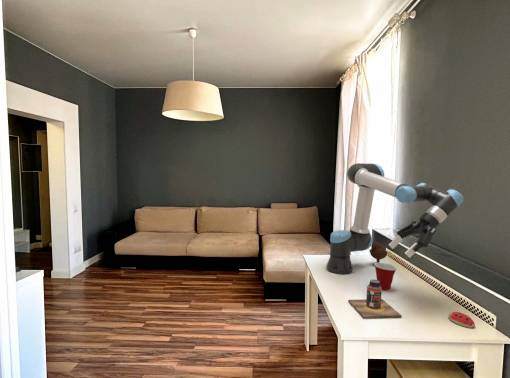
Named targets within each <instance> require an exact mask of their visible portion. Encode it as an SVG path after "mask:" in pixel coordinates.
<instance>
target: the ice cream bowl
mask: <svg viewBox="0 0 510 378" xmlns="http://www.w3.org/2000/svg"><path fill="white" fill-rule="evenodd" d="M368 250H369V254H370V256H371V257H372V258H373V259H375V260H376V263H381V262H380V261H381V260H383V259H385V258H386V257H387V256H388V253H389V252H388V250H386V247H385V246H384V245H382V243H381V242H379V241H378V242H377V241H375V242H372V245H371V248H369V249H368ZM373 266H374V267H375V265H374V263H373Z"/></svg>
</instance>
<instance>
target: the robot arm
mask: <svg viewBox="0 0 510 378" xmlns="http://www.w3.org/2000/svg"><path fill="white" fill-rule="evenodd" d="M346 176H347V179H348V181H349V182H351V183H352V184H355V185H356V186H357V187H358V188H359V189H358V194H357V195H358V196H357V200H356V205H355V212H354V213H355V214H354V218H353V219H354V220H353V225H351V226H350V228H349V230H345V229H343V230H341V229H339V230H334V231H333V232H332V231H331V233H330V238H329V241H330V242H329V245H330V246H329V247H330V249H329V258H328V262H327V263H326V270H327V271H328V272H331V273H333V274H339V275H349V274H352V273H353V264H352V261H351V253H354V252H363V251H366V250H370V249H371V248H372V244H373V237H372V234H371V231H370V229H369V224H370V217H371V214H372V213H371V212H372V206H373V200H374V196H375V191H378V192H380V193H384V194H385V195H386V194H387V195H388V196H392V197H393V198H396V199H397V201H398V202H400V203H405V204H411V203H412V204H414V203H428V204H430V205H431V206H430V207H429V208H428V209H427V210H426V211H425V212H424V213H423V214H422V215H421V216H420V217H419V221H418V223H417V222H416V221H415V220H414V221H412V222H411V223H410V224H408V225H407V226H405V227H403V228H401V229H400V230H398V231H397V232H396V235H397V236H396V237H395V238H394V239H393V240H392V241H391V242H389V244H388V246H389V247H390V248H391V249H392V250H394V249H395V248H396V247H397V246H398V245H399V244H400V243H401V242H402V241H403V240H404V238H406V237H409V236H411V235H414V234H415V235H416V234H419V235H418V239H417V241H416V242H414V243H413V244H412V245H411V246H410V247H409V248H408V249H407V250H406V251H405V252H404V254H405V256H407V257H408V258H409V259H410V258H411V257H412V256H413V255H414V254H416V253H417V252H419V250H421V248H428V246H429V245H430V242H431V240H432V238H433V235H434V234H435V233H436V232H437V230H436V229H437V227H439V226H440V224H441V223H443V222H444V221H445V220H446V219H447V218H448V217H449V216H450V214H452V213H453V212H454V211H455V210H456V209H457V208H459V206H460V205H461V204H462V203H463V202H464V196H463V194H461V193H460V192H459V191H457V190H456V189H452V188H450V189H448V190H447V191H443V190H441V189H438V188H437V187H435V186H432V185H431V184H427V183H425V182H420V183H419V184H417V185H414V186H413V185H409V184H406V183H403V182H401V181H397V180H395V179H391V178H388V177H386V176H385V170H384V169H383V167H382V166H381V165H379V164H377V163H364V162H363V163H360V162H358V163H354V164H352V165H350V166H349V167H348V169H347V172H346Z"/></svg>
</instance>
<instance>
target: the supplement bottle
mask: <svg viewBox="0 0 510 378" xmlns="http://www.w3.org/2000/svg"><path fill="white" fill-rule="evenodd" d="M382 291H383V290H382V288H381V286H380V282H379V281H378V280H377V279H370V280H369V283H368V284H367V286H366V297H365V299H366V305H367V306H368V307H369V308H372V309H379V308H381V299H382Z"/></svg>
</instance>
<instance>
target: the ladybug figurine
mask: <svg viewBox="0 0 510 378" xmlns="http://www.w3.org/2000/svg"><path fill="white" fill-rule="evenodd" d="M447 317H448V319H449V321H451V322H452V323H454V324H456V325H459V326H461V327H464V328H469V329H473V328H476V324H475V323H476V322H475V321H474V320H473V319H472V317H471V316H469V315H467V314H465V313H463V312H460V311H456V310H454V311H453V310H452V311H451V312H449V314H448V316H447Z"/></svg>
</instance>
